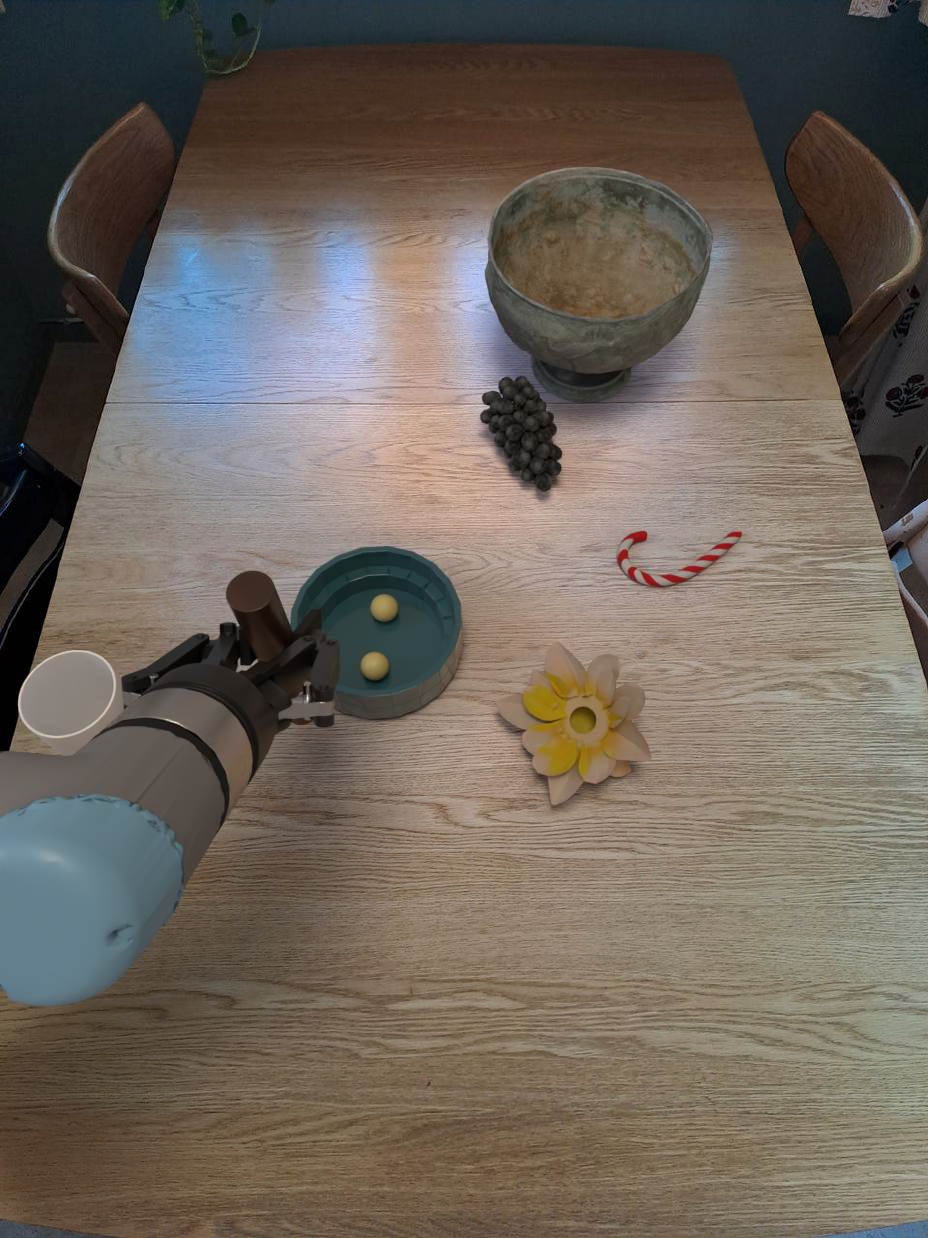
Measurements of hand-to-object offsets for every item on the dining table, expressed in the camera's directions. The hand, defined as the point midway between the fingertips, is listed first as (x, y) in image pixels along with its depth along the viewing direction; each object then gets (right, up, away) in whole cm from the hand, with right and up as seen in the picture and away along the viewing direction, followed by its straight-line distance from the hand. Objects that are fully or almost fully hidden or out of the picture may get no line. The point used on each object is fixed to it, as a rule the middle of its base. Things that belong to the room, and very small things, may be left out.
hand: (292, 623), depth 67 cm
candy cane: (+39, +8, +30) cm, 50 cm away
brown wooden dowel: (0, -7, +5) cm, 9 cm away
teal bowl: (+5, -3, +24) cm, 25 cm away
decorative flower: (+24, -11, +19) cm, 33 cm away
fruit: (+21, +20, +37) cm, 47 cm away
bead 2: (+4, -5, +20) cm, 21 cm away
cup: (-20, -14, +18) cm, 30 cm away
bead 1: (+5, +2, +24) cm, 24 cm away
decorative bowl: (+29, +34, +44) cm, 63 cm away
